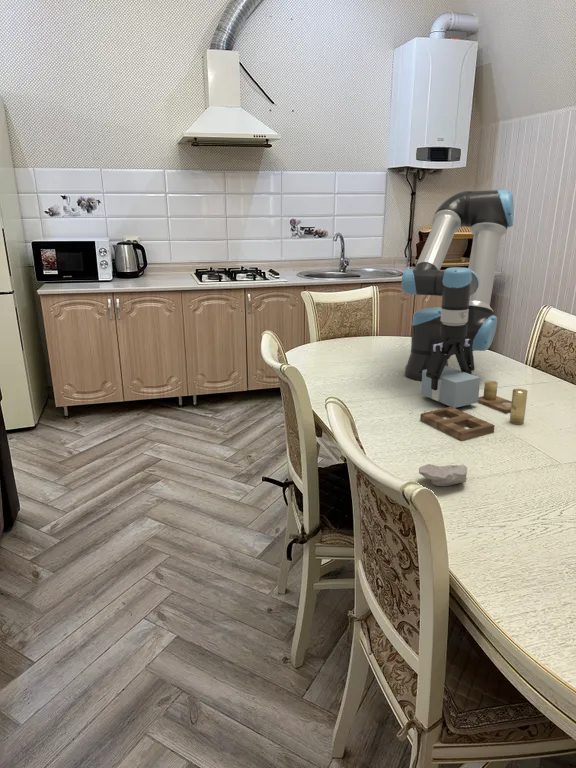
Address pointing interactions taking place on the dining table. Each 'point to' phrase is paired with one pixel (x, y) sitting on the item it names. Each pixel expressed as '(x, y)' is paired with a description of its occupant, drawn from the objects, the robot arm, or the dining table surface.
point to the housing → (454, 387)
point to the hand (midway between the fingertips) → (448, 396)
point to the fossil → (444, 474)
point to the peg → (518, 406)
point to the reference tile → (496, 404)
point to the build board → (457, 423)
